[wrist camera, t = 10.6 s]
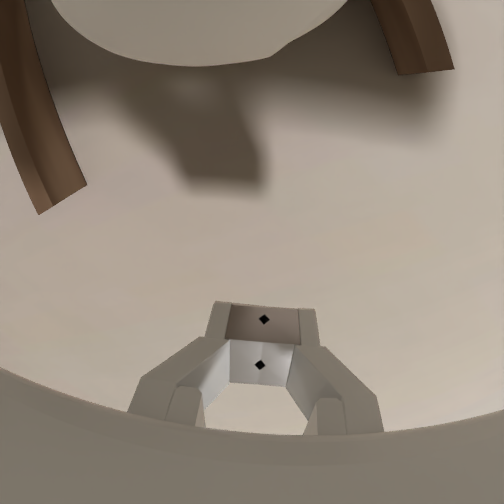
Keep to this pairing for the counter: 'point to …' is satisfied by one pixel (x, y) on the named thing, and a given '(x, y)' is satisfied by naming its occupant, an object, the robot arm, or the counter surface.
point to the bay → (49, 126)
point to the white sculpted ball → (195, 27)
